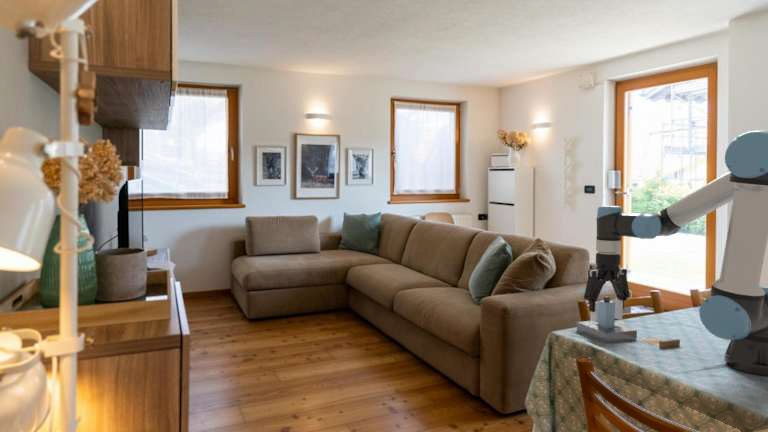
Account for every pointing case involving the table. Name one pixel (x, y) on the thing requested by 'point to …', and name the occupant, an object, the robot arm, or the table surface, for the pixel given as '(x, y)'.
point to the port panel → (607, 332)
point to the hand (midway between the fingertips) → (606, 320)
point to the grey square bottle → (606, 313)
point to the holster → (662, 342)
